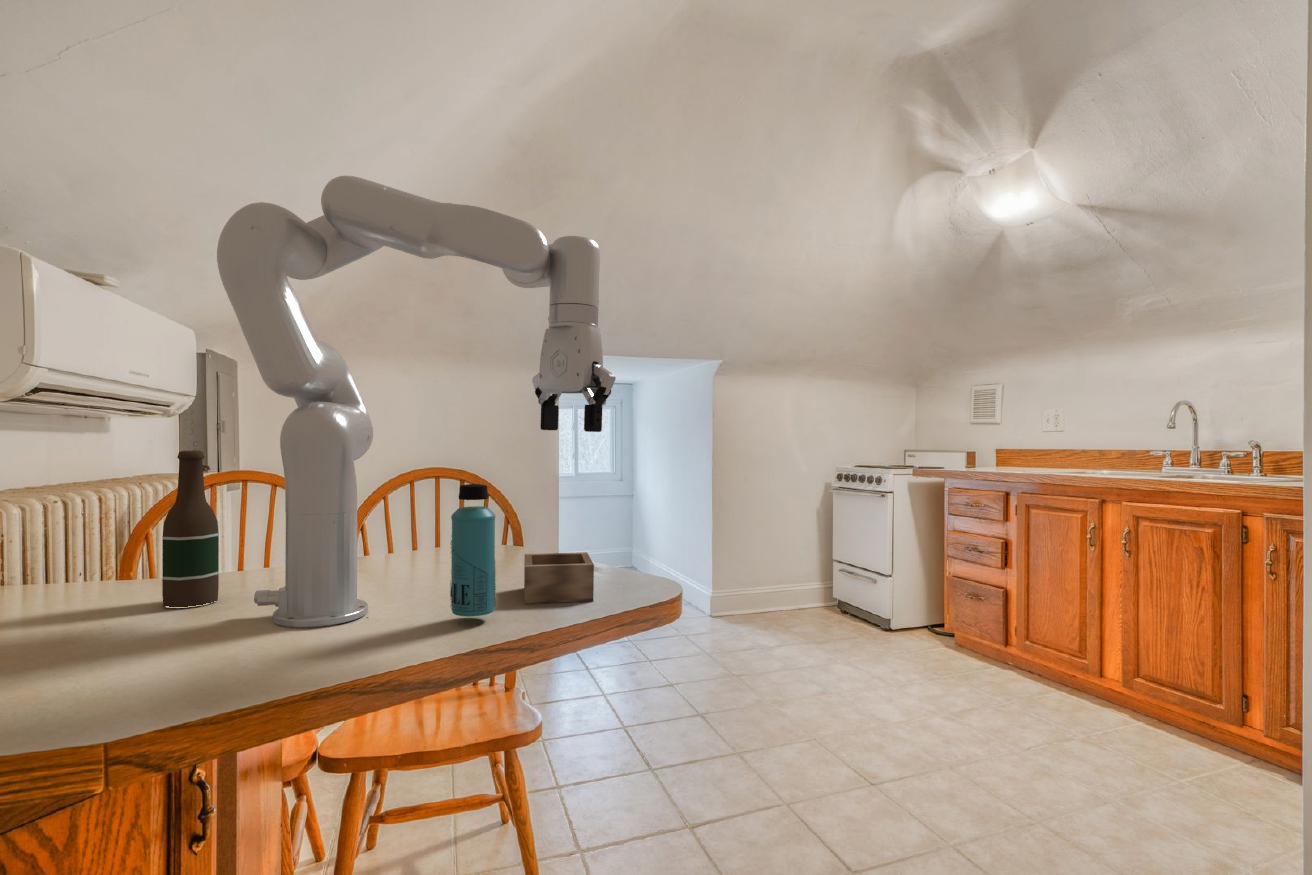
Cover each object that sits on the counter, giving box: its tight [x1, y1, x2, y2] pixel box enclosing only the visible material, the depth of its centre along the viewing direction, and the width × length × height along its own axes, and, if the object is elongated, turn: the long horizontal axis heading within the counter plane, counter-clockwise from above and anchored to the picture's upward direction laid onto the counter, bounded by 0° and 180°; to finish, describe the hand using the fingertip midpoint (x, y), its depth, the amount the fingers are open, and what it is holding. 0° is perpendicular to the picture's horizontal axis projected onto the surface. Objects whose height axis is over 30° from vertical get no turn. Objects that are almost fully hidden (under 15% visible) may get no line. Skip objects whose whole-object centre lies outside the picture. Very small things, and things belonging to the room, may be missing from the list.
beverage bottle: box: [449, 483, 497, 617], centre depth 99 cm, size 6×7×20 cm
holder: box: [523, 551, 595, 605], centre depth 115 cm, size 11×11×6 cm
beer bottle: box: [161, 449, 220, 607], centre depth 106 cm, size 8×8×24 cm
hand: (570, 430), depth 105 cm, fingers open, 9 cm apart
